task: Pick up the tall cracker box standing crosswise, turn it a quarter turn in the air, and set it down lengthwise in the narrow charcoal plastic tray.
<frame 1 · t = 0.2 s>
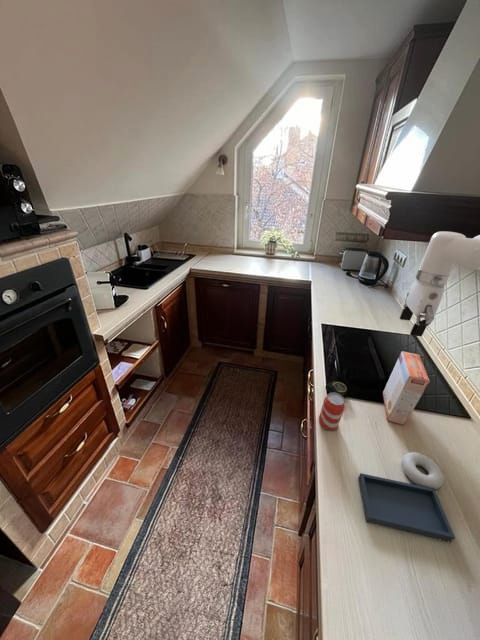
hand: (409, 327, 82), 31 cm above the worktop, tool pointing down, fingers open, 9 cm apart
tape measure: (335, 395, 97), on the worktop
cracker box: (392, 408, 92), on the worktop
beverage can: (327, 423, 86), on the worktop
donut: (419, 473, 73), on the worktop
tray: (399, 507, 65), on the worktop
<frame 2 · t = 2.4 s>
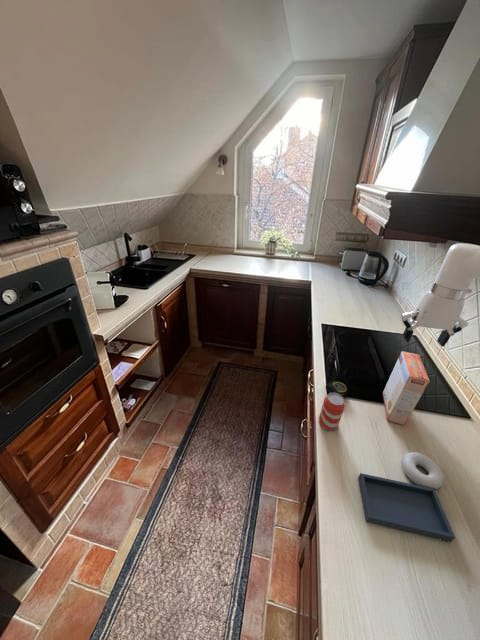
hand: (422, 341, 78), 29 cm above the worktop, tool pointing down, fingers open, 9 cm apart
nothing on the worktop moved.
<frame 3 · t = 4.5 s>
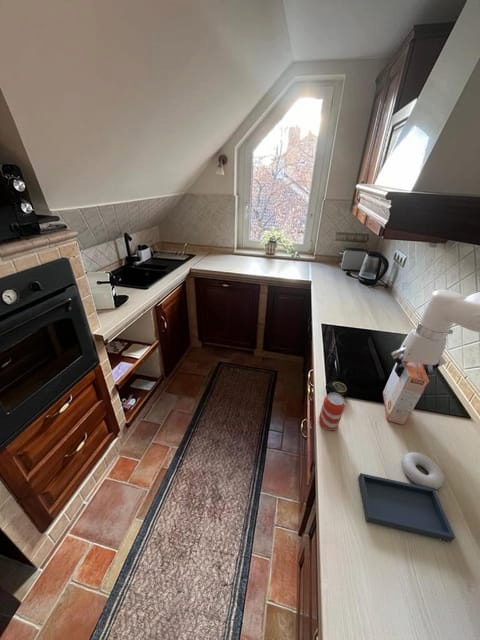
hand: (409, 375, 84), 16 cm above the worktop, tool pointing down, fingers closed on cracker box, 6 cm apart
cracker box: (392, 408, 93), on the worktop, touching gripper
everything else where it was.
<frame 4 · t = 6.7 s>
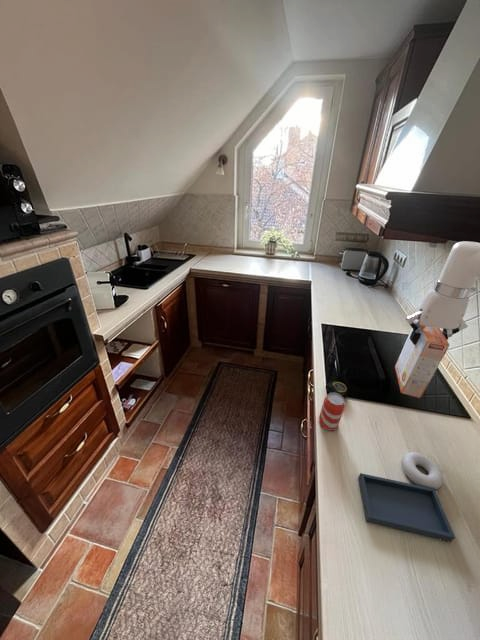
hand: (425, 343, 77), 29 cm above the worktop, tool pointing down, fingers closed on cracker box, 6 cm apart
cracker box: (406, 382, 86), point 13 cm above the worktop, touching gripper
everything else where it was.
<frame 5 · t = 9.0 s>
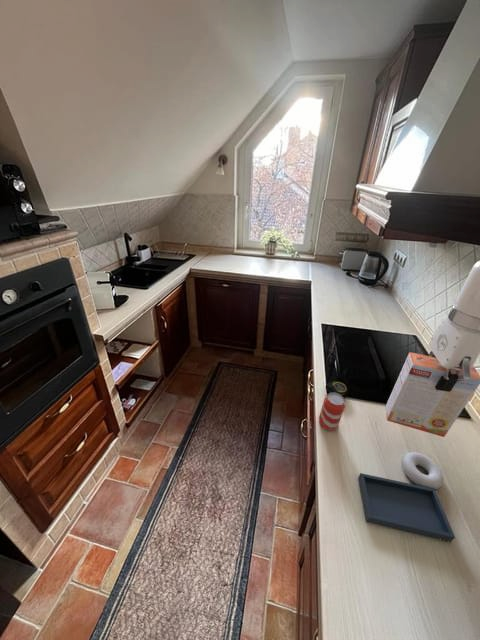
hand: (436, 379, 64), 29 cm above the worktop, tool pointing down, fingers closed on cracker box, 6 cm apart
cracker box: (412, 421, 72), point 13 cm above the worktop, touching gripper
everything else where it was.
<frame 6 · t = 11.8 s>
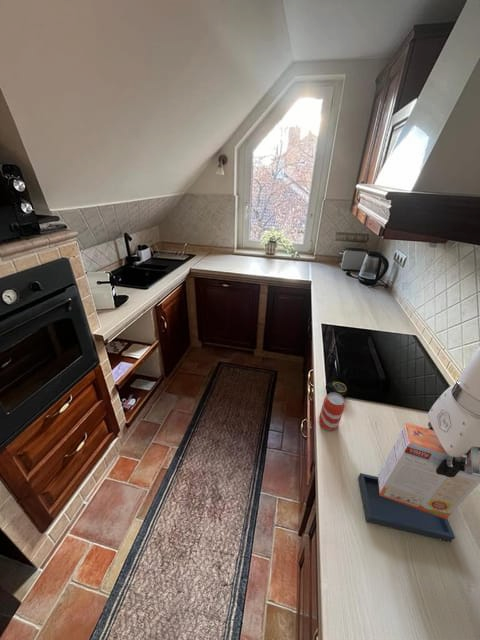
hand: (436, 456, 54), 22 cm above the worktop, tool pointing down, fingers closed on cracker box, 6 cm apart
cracker box: (408, 495, 62), point 6 cm above the worktop, touching gripper
everything else where it was.
when the fingers open (17 cm above the worktop, at t = 13.8 s): cracker box stays where it is, resting on tray.
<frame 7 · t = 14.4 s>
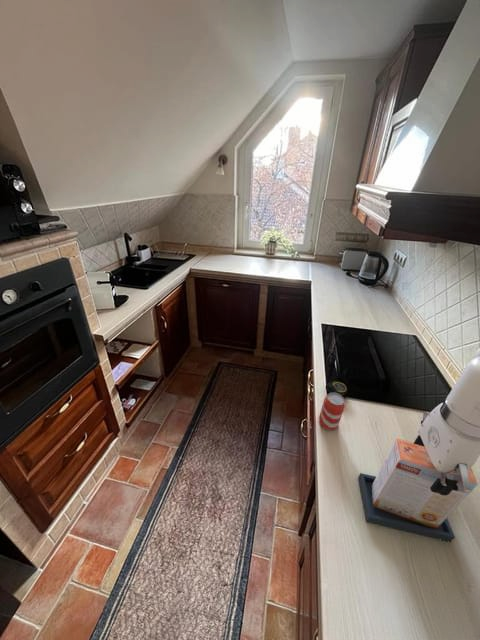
hand: (428, 468, 56), 18 cm above the worktop, tool pointing down, fingers open, 9 cm apart
cracker box: (400, 506, 65), resting on tray
everything else where it was.
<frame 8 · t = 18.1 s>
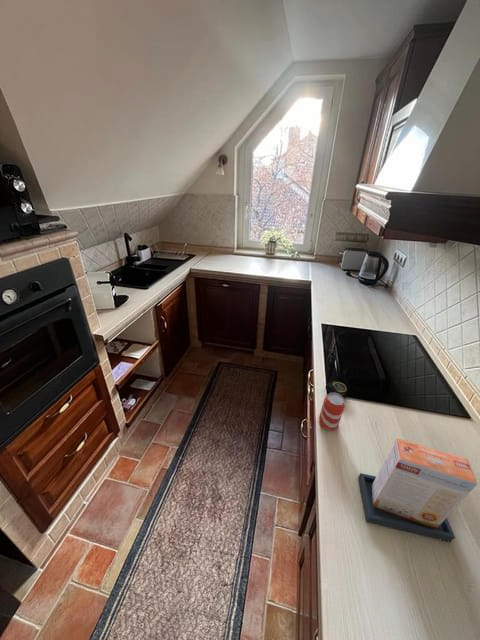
nothing on the worktop moved.
at the end: cracker box 0.0 cm off-centre in the tray, point 0.3 cm above the tray's base; cracker box tilted 0°; the gripper is holding nothing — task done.
